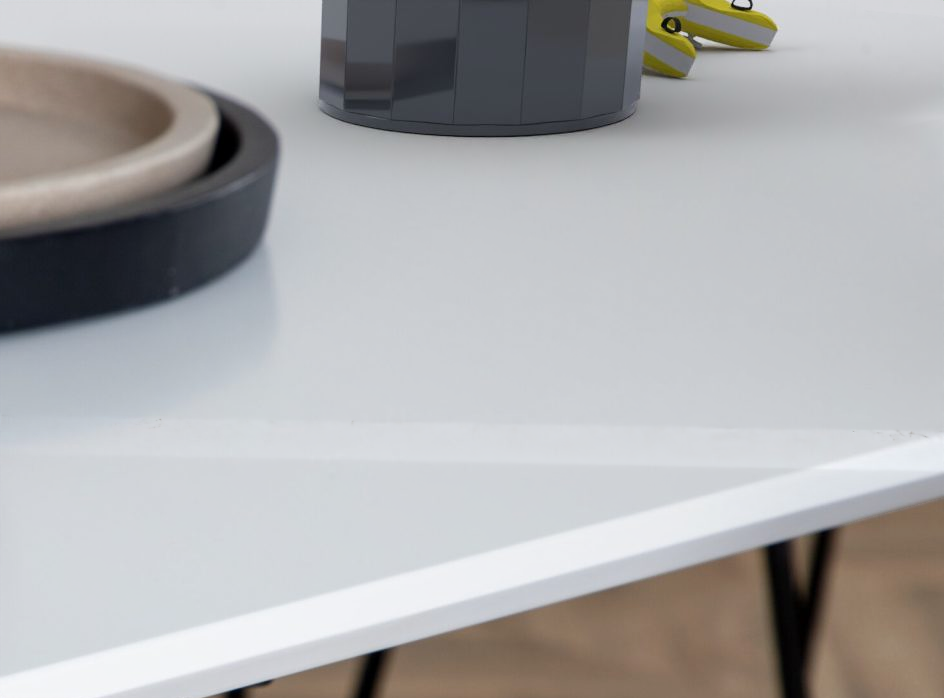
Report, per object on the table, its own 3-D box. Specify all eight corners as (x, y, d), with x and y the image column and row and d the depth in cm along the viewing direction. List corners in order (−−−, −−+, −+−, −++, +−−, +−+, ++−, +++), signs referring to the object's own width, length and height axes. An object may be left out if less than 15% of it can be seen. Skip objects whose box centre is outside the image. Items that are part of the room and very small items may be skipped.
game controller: (654, 18, 122) (683, -42, 119) (755, 74, 119) (787, 13, 117) (566, 45, 115) (595, -19, 113) (671, 105, 112) (703, 41, 110)
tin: (615, 75, 113) (631, -104, 109) (656, 136, 99) (675, -66, 96) (318, 76, 114) (323, -100, 111) (318, 136, 101) (325, -62, 98)
